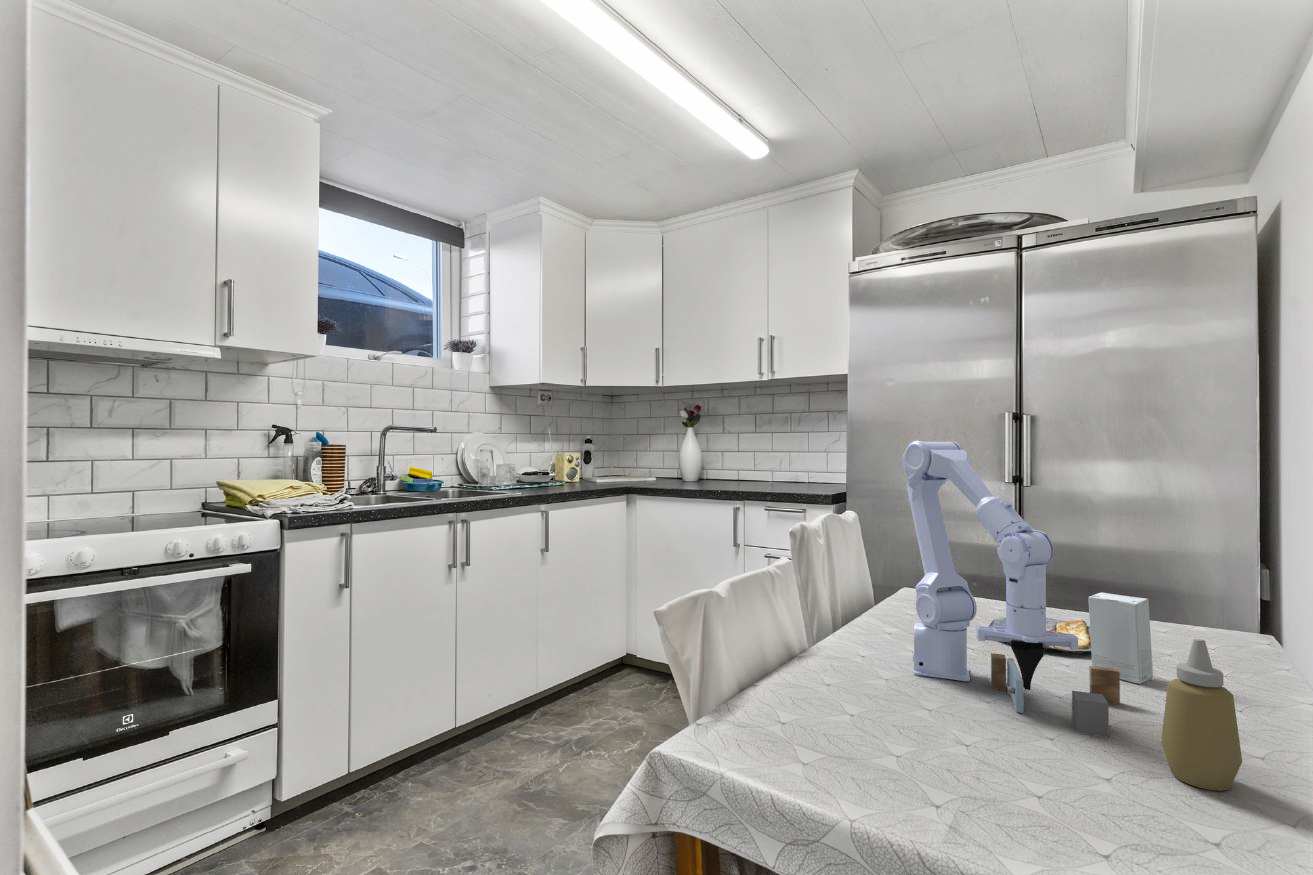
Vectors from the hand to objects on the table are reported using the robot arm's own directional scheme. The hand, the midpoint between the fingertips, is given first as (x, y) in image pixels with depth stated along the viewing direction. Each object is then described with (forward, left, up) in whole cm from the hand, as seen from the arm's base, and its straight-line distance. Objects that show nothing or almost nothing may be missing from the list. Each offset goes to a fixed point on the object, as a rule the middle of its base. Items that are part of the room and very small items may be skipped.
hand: (1026, 687), depth 107 cm
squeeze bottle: (+18, -18, -3) cm, 25 cm away
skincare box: (+18, +24, -3) cm, 31 cm away
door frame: (+4, +8, -3) cm, 10 cm away
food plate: (+9, +45, -4) cm, 46 cm away
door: (-2, +3, -3) cm, 5 cm away
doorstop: (+8, -6, -3) cm, 10 cm away
